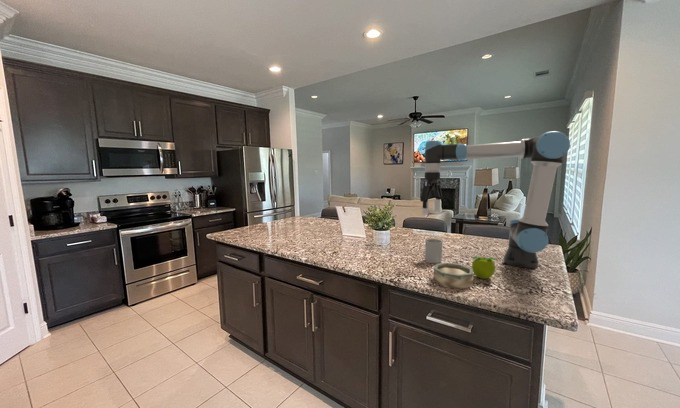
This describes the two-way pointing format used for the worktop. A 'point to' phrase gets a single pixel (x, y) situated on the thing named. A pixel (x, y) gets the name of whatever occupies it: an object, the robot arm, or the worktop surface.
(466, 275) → the shallow stone bowl
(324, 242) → the worktop surface
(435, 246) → the mug
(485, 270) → the fruit
